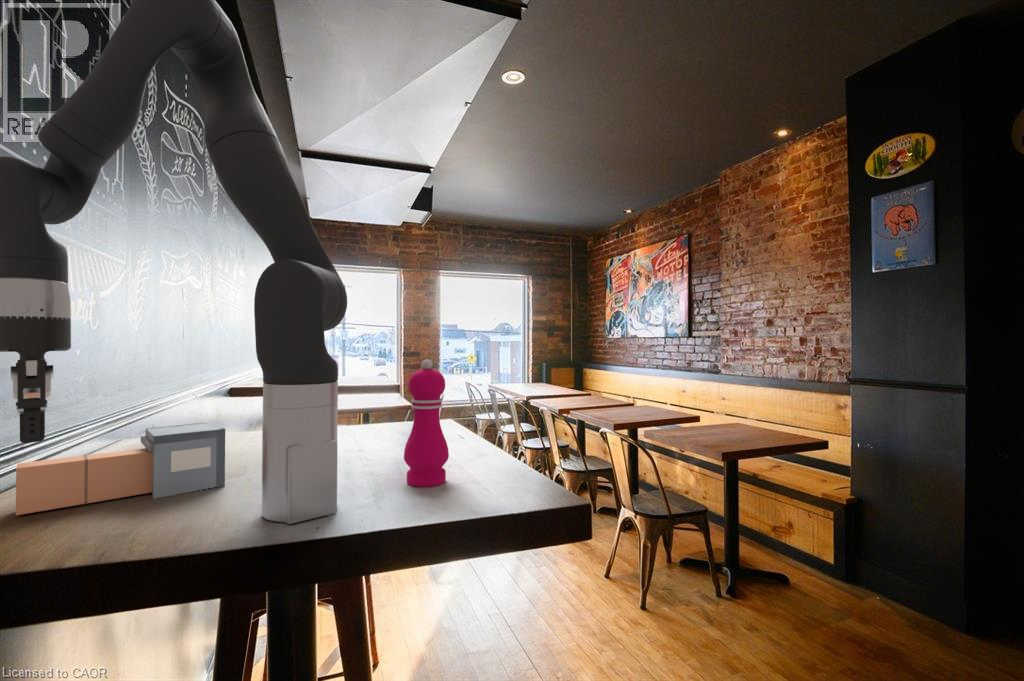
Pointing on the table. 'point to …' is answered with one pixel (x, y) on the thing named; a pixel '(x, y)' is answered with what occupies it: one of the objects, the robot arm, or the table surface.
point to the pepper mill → (426, 429)
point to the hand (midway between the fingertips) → (33, 437)
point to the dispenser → (186, 457)
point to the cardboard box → (82, 480)
